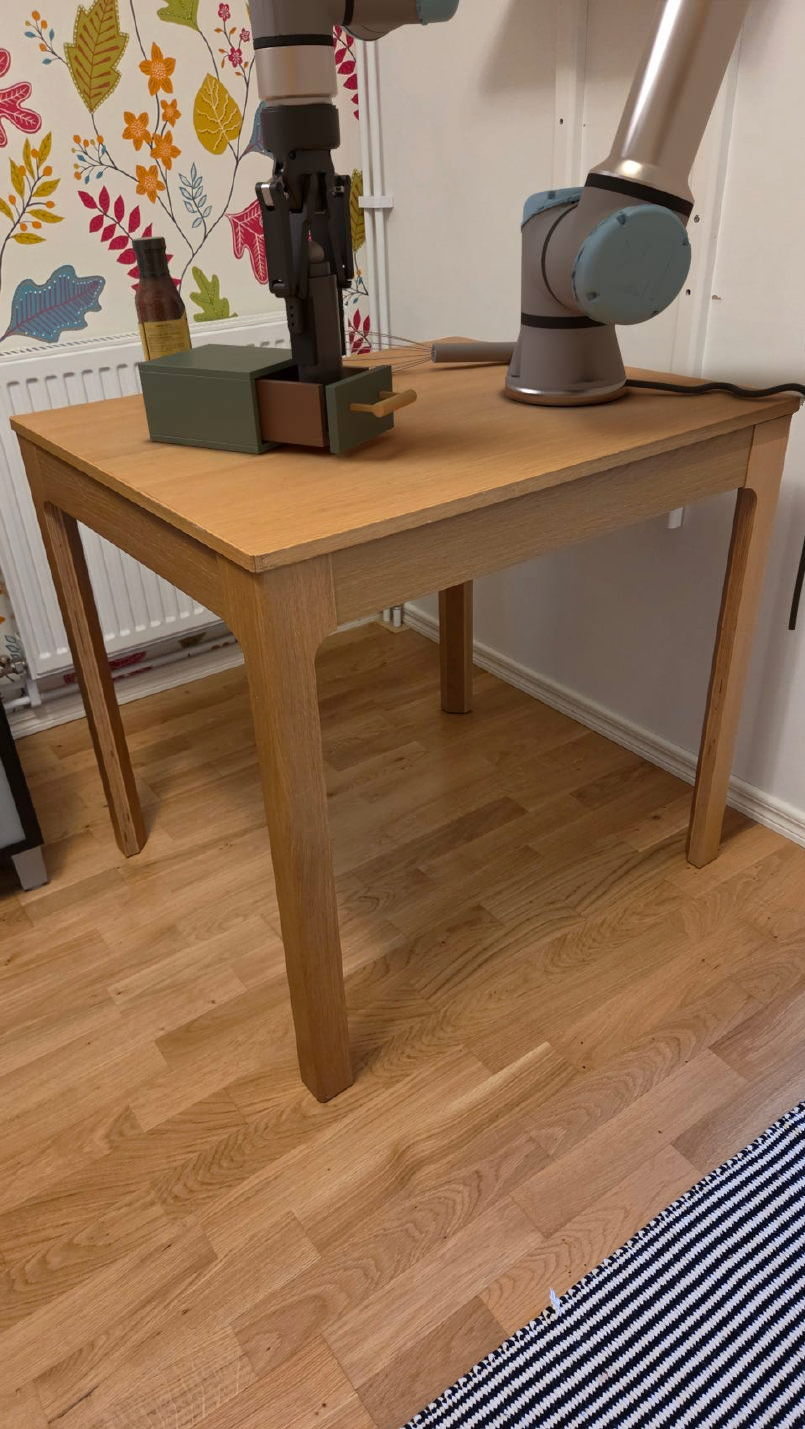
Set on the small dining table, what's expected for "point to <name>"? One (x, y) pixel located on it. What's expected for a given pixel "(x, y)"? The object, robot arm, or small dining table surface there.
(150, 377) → the cabinet
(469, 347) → the kitchen whisk
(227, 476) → the small dining table surface
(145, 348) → the sauce bottle
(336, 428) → the drawer
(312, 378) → the pepper mill
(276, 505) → the small dining table surface
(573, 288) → the robot arm
